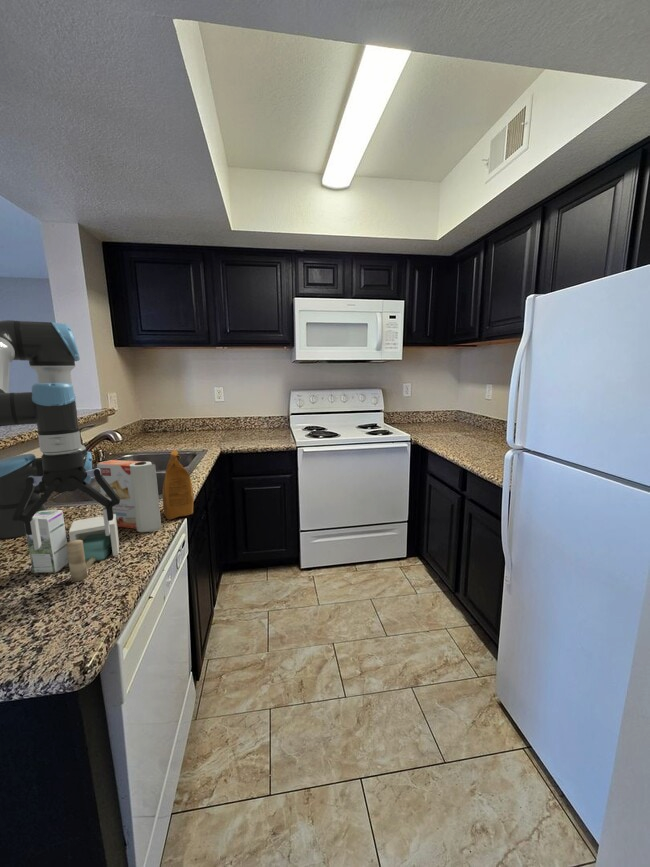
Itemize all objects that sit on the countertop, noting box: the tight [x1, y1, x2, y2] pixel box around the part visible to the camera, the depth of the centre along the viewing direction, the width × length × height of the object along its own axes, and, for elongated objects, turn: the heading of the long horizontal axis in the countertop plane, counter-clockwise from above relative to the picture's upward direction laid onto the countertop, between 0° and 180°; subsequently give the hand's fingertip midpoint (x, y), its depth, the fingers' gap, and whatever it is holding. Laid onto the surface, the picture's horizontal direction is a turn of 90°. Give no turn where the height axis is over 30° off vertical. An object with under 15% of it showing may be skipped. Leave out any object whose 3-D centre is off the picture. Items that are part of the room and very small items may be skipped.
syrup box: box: [24, 509, 69, 574], centre depth 90 cm, size 6×6×14 cm
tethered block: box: [66, 534, 112, 583], centre depth 91 cm, size 15×5×9 cm, turn 13°
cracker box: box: [96, 459, 142, 530], centre depth 115 cm, size 14×6×21 cm, turn 74°
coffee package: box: [162, 449, 195, 520], centre depth 124 cm, size 10×12×22 cm
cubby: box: [68, 514, 120, 557], centre depth 97 cm, size 8×10×9 cm
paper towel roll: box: [130, 461, 163, 533], centre depth 111 cm, size 7×6×21 cm
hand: (74, 540), depth 84 cm, fingers open, 13 cm apart
